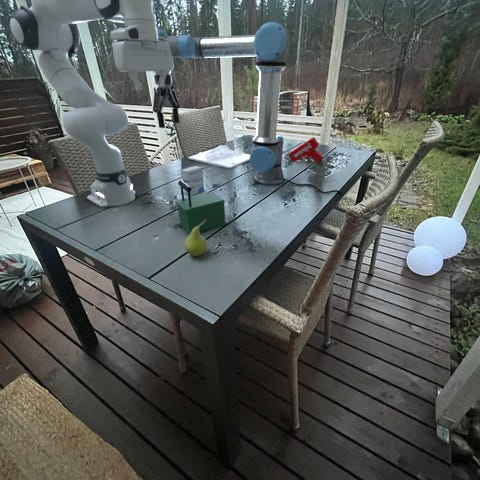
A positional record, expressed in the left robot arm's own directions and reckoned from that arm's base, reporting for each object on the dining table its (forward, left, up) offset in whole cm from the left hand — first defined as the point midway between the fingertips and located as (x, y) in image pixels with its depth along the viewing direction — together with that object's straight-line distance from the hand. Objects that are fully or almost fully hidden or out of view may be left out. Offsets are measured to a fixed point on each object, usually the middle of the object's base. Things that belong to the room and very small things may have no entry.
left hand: (150, 88), depth 87 cm
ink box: (-7, +24, -46) cm, 52 cm away
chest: (+16, 0, -46) cm, 48 cm away
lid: (+15, 0, -37) cm, 40 cm away
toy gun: (+25, +97, -46) cm, 110 cm away
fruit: (+26, -16, -46) cm, 55 cm away
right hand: (-26, +34, -18) cm, 46 cm away
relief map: (-26, +78, -46) cm, 94 cm away
